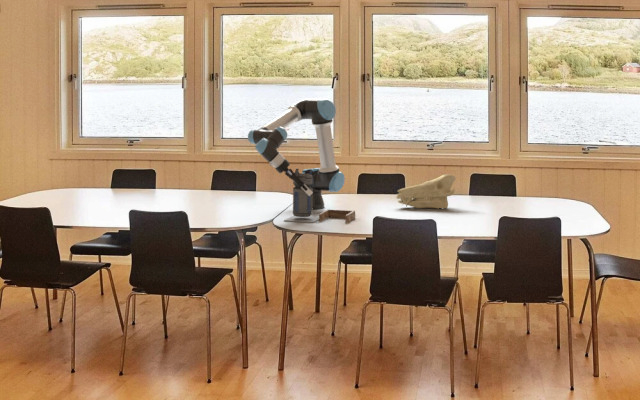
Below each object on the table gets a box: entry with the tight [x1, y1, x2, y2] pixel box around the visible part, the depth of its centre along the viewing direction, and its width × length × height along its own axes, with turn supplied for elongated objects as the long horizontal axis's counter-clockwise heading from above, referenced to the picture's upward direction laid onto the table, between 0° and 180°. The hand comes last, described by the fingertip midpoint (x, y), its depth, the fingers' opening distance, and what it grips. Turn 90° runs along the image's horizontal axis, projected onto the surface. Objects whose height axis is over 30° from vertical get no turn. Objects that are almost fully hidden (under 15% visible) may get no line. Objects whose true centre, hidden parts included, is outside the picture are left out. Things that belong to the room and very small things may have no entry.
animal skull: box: [395, 173, 456, 209], centre depth 444 cm, size 15×35×20 cm, turn 97°
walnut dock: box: [318, 209, 356, 224], centre depth 395 cm, size 18×15×4 cm
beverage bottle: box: [292, 168, 314, 217], centre depth 393 cm, size 10×13×25 cm
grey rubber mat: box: [283, 215, 319, 224], centre depth 394 cm, size 18×16×1 cm
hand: (309, 193), depth 393 cm, fingers closed on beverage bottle, 10 cm apart
